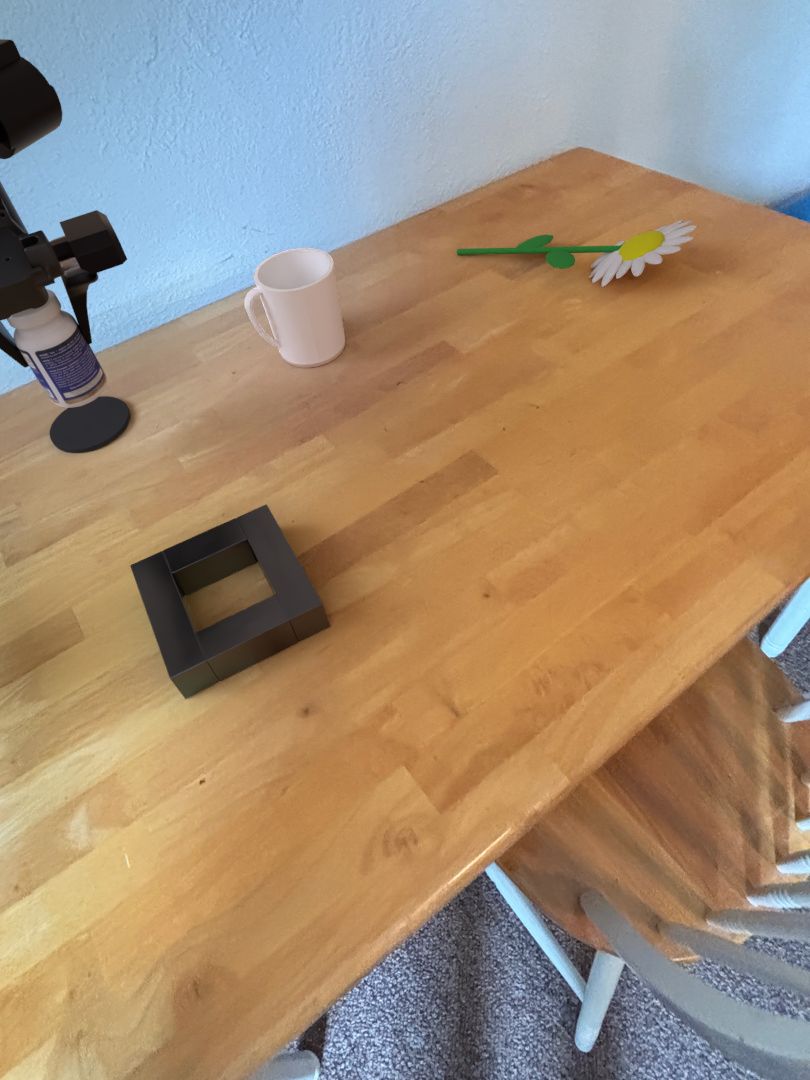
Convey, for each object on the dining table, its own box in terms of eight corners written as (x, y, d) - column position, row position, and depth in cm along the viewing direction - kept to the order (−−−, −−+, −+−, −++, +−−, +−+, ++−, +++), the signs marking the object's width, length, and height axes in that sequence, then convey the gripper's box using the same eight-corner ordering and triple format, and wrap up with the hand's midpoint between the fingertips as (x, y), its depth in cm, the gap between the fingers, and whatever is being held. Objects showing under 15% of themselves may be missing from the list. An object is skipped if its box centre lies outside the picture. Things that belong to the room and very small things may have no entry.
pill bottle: (117, 372, 72) (71, 283, 64) (96, 410, 68) (43, 320, 60) (66, 373, 73) (14, 285, 65) (42, 410, 69) (-16, 322, 61)
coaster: (59, 464, 77) (56, 460, 76) (45, 419, 82) (43, 415, 82) (139, 432, 79) (137, 428, 78) (120, 390, 84) (118, 386, 84)
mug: (327, 317, 89) (310, 239, 81) (363, 349, 84) (348, 269, 76) (249, 352, 86) (223, 275, 78) (281, 388, 81) (257, 309, 73)
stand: (185, 699, 57) (169, 678, 54) (145, 588, 65) (129, 564, 62) (331, 626, 60) (323, 603, 57) (275, 528, 68) (266, 503, 65)
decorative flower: (443, 295, 94) (683, 297, 81) (437, 259, 90) (686, 256, 77) (477, 251, 101) (701, 247, 88) (472, 217, 98) (704, 207, 85)
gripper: (-171, 271, 48) (-36, 440, 60) (97, 186, 52) (174, 360, 64) (-167, 209, 55) (-45, 372, 67) (71, 138, 59) (145, 304, 71)
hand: (58, 353), depth 67 cm, fingers closed on pill bottle, 6 cm apart
